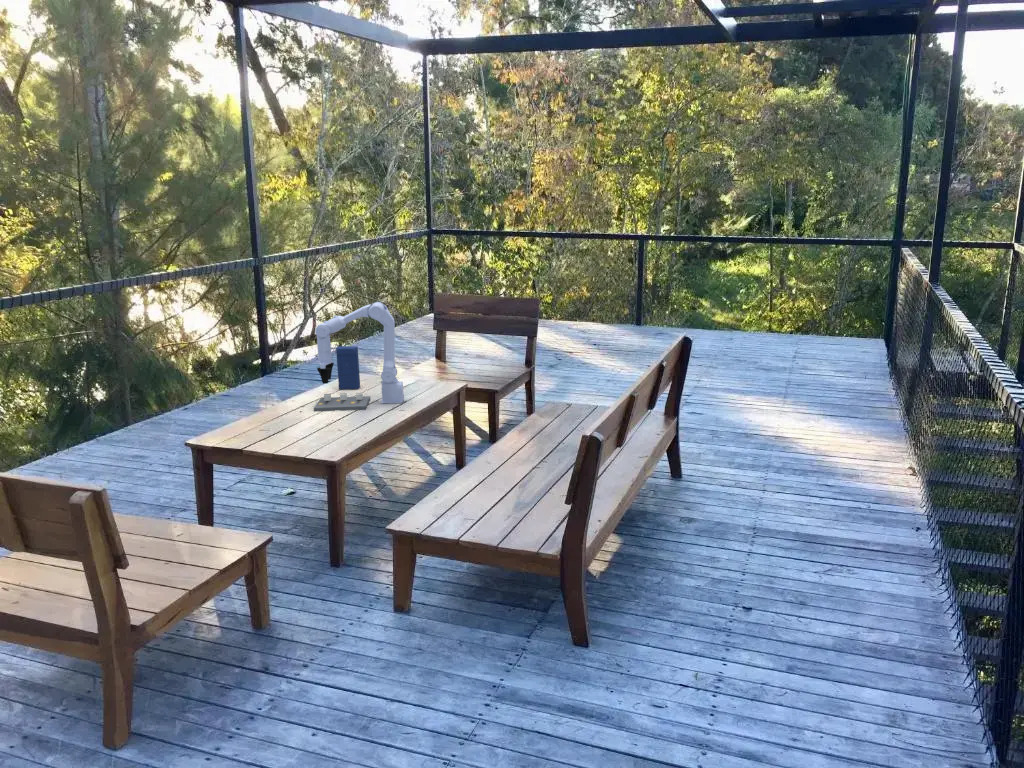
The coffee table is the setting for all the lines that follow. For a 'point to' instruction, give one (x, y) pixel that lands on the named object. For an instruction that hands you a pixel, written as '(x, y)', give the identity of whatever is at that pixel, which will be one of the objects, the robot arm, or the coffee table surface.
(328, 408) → the switch panel
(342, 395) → the switch
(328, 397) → the switch
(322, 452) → the coffee table surface
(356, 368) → the electronic device
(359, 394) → the switch
